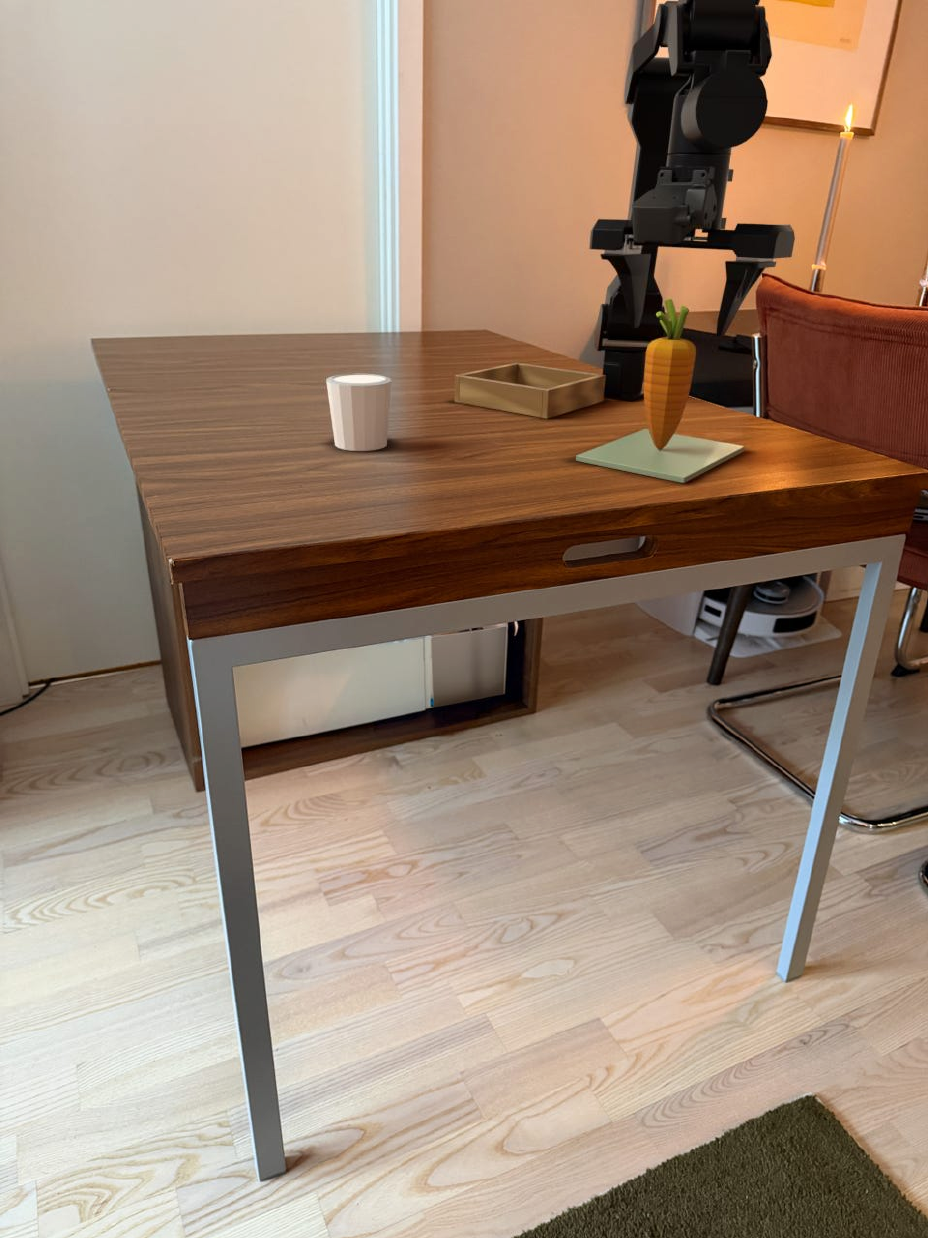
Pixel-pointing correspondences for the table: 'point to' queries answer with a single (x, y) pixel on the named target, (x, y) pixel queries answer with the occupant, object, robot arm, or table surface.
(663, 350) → the carrot
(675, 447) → the board
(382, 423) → the white cup
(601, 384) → the wooden tray
